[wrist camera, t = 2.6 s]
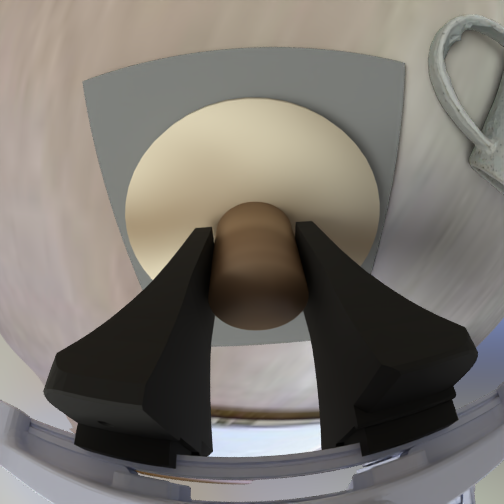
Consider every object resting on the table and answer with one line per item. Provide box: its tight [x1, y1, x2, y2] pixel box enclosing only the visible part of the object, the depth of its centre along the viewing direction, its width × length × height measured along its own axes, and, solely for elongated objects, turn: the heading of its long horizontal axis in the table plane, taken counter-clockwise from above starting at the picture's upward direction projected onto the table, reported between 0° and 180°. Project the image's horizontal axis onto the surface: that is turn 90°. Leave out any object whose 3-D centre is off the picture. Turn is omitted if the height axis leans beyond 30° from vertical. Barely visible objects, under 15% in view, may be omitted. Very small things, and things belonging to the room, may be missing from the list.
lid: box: [125, 97, 380, 331], centre depth 10 cm, size 10×10×4 cm
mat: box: [83, 47, 405, 347], centre depth 12 cm, size 16×12×1 cm
